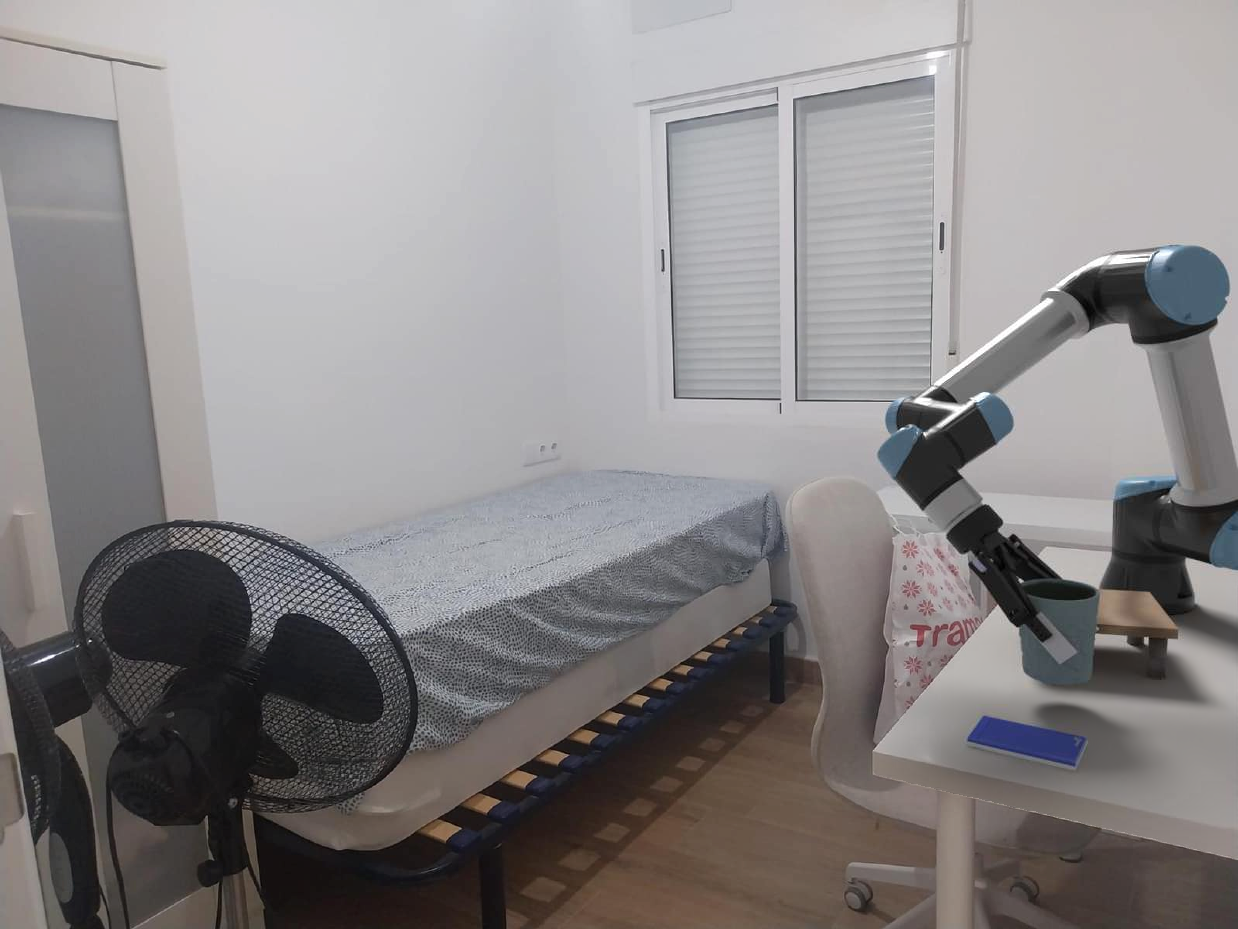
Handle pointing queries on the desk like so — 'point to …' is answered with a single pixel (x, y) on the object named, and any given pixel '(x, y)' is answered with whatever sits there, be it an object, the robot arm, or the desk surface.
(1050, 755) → the hard drive
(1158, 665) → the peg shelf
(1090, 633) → the teal plant pot
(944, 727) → the desk surface
